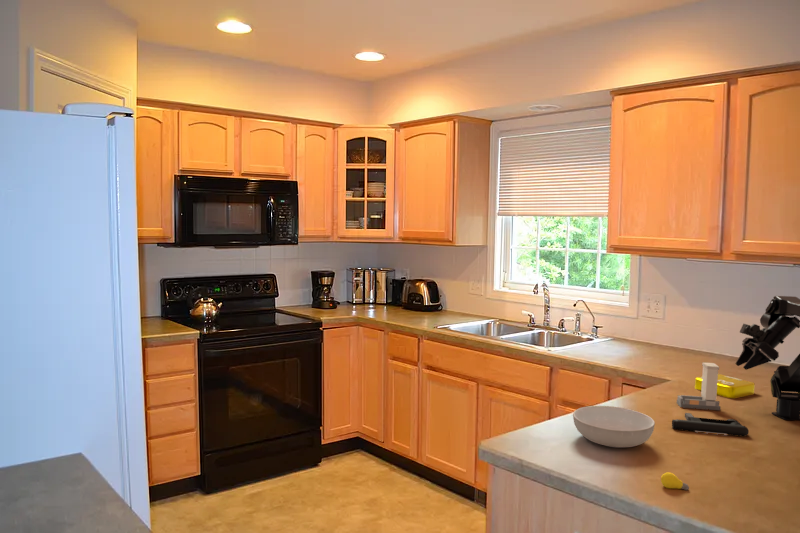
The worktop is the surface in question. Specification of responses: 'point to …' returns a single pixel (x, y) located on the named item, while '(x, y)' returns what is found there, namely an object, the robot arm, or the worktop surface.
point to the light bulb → (673, 481)
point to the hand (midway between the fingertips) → (740, 366)
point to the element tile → (730, 386)
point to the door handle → (710, 425)
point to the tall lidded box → (709, 381)
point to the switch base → (697, 402)
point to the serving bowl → (613, 425)
